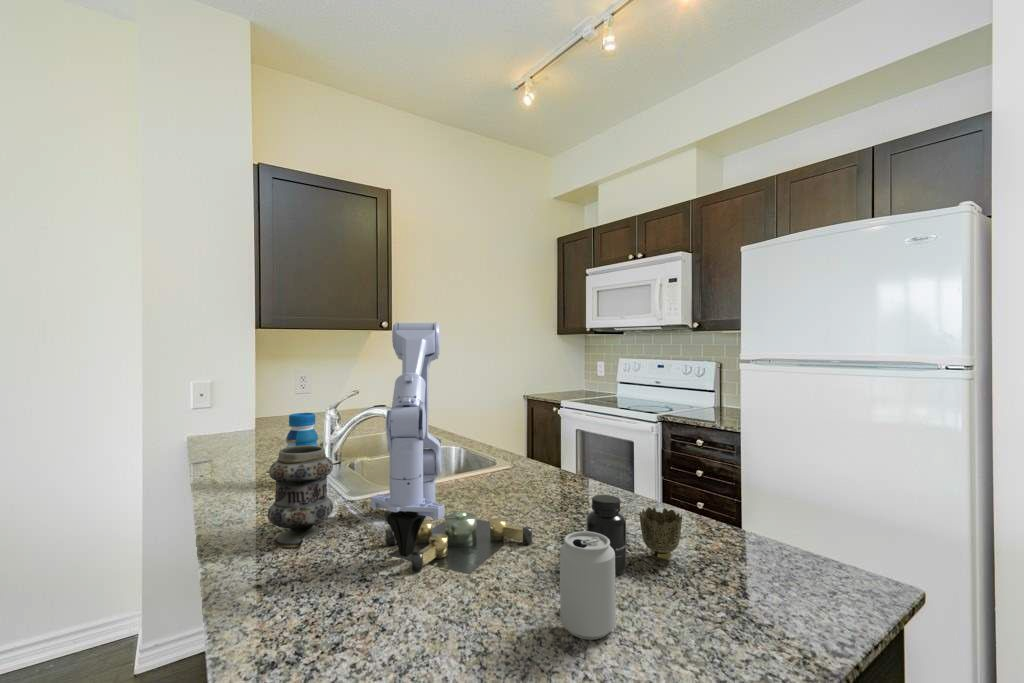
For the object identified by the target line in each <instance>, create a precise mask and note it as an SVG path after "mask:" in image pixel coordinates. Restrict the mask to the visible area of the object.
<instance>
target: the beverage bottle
mask: <svg viewBox="0 0 1024 683" xmlns="http://www.w3.org/2000/svg"><path fill="white" fill-rule="evenodd" d="M315 425H316V414H315V413H313V412H297V413H291V414H289V416H288V426H289V428H290V430H289V431H288V433H287V436H286V439H285V441H286V444H287V445H286V447H285V448H288V447H293V446H305V445H312V446H319V443H318V439H319V435H318V433H317V431H316V429H315V428H314V426H315Z"/></svg>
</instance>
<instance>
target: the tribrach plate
mask: <svg viewBox="0 0 1024 683" xmlns="http://www.w3.org/2000/svg"><path fill="white" fill-rule="evenodd" d="M444 517H445V518H444V521H443V522H441V523H439V524H437V525H436V526H434V527H432V535H434V534H445V535H447V536H448V555H447V556H445V557H443V558H434V559H432V560H431V561H430V562H428V563H427V564H426V565H429V566H433V567H437V568H442V569H446V570H450V571H454V572H459V573H461V574H467V575H471V574H472V573H473V572H475V570H477V569H478V568H479V567H480V566H482V565H483V564H484V563H485V562H486V561H488V560H489V559H490V558H491V557H492V556H493V555H495V554H496V553H497V552H498V551H499V550H500V549H502V548H503V547H504V546H505V545H506V544H508V543H509V542H510V541H511V540H512V539H510V538H505V539H501V540H494V539H491V538H490V520H482V519H478V518H477V515H476V514H475V513H472V512H469V511H462V510H461V511H456V512H452V513H449V514H447V515H446V516H444ZM510 525H511V524H510ZM511 526H513V525H511ZM515 526H516V527H519V526H518V525H515ZM521 527H522V526H521ZM524 527H525V526H523V527H522V528H524ZM428 545H430V541H428V542H417V541H416V542H415V546H414V551H413V553H414V552H419V551H421V550H422V549H424V548H425V547H427V546H428ZM388 556H389V557H394V558H399V559H403V560H407V561H411V562H412V554H410V555H409V556H407V557H404V556H400V553H399V549H398V548H397V549H395V550H394V551H392V552H391V553H389V554H388Z"/></svg>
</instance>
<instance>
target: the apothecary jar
mask: <svg viewBox="0 0 1024 683" xmlns="http://www.w3.org/2000/svg"><path fill="white" fill-rule="evenodd" d="M325 451H326V450H325V447H323V446H319V445H318V446H312V445H305V446H293V447H288V448H286V447H284V448H281V449H280V450H279V451H278V457H277V460H276V461H275V462H273V463H272V464H271V465H270V467H269V471H268V473H269V477H270V478H271V479H272V480H274V481H275V495H274V496H275V497H274V502H273V503H272V504H271V505H270V506H269V508H268V511H267V519H268V521H269V522H270V523H271V524H272V525H274V526H275V527H277V528H278V527H279V528H281V529H287V530H286V531H284V532H282V533H280V534H279V535H278V534H277V536H276V537H275V538H274V539H273V544H274V545H275V546H276V547H278V548H284V549H296V548H301V547H302V543H303V540H304V539H308V538H310V537H311V538H312V537H314V536H316V535H318V534H319V533H320V531H321V528H320V527H319V526H316V525H318V524H320V523H323V521H325V520H326V519H328V518H329V516H330V515H331V514H332V512H333V508H334V504H333V502H332V500H331V499H330V498H329V497H328V494H327V493H328V490H327V489H328V488H327V487H328V486H327V485H328V482H327V480H328V476H329V475H330V474H331V473H332V471H333V467H334V463H333V462H332V460H331V459H330V458H329V457H328V456H326V453H325Z"/></svg>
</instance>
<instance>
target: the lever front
mask: <svg viewBox="0 0 1024 683" xmlns="http://www.w3.org/2000/svg"><path fill="white" fill-rule="evenodd" d="M447 555H448V536H447V535H445V534H434V535H432V536H430V545H428V546H427V547H425V548H424V549H422V550H421V551H419V552H414V553H412V561H411V571H414V572H418V571H422V570H423V569H424V566H425V565H428V564H427V563H428V562H430V561H431V560H432V559H434V558H443V557H445V556H447Z"/></svg>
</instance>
